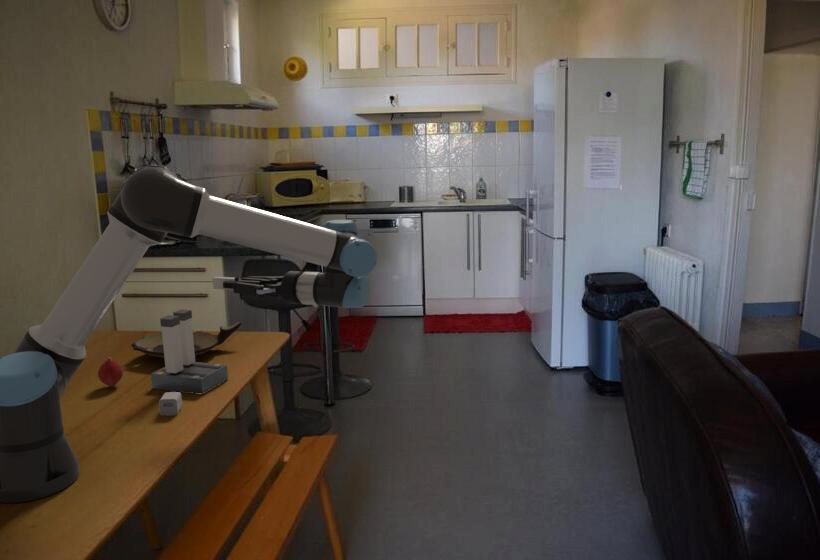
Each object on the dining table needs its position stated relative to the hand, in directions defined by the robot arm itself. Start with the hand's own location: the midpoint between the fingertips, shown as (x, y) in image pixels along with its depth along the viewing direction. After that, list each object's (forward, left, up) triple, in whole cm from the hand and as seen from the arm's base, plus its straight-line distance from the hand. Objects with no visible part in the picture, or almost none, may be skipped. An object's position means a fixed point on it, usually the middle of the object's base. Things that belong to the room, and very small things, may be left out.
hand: (215, 282), depth 161 cm
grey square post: (+8, +12, -24) cm, 27 cm away
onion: (+14, +27, -28) cm, 42 cm away
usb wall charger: (-7, +12, -28) cm, 31 cm away
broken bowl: (+35, +9, -28) cm, 46 cm away
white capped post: (+13, +9, -24) cm, 29 cm away
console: (+9, +8, -28) cm, 31 cm away
